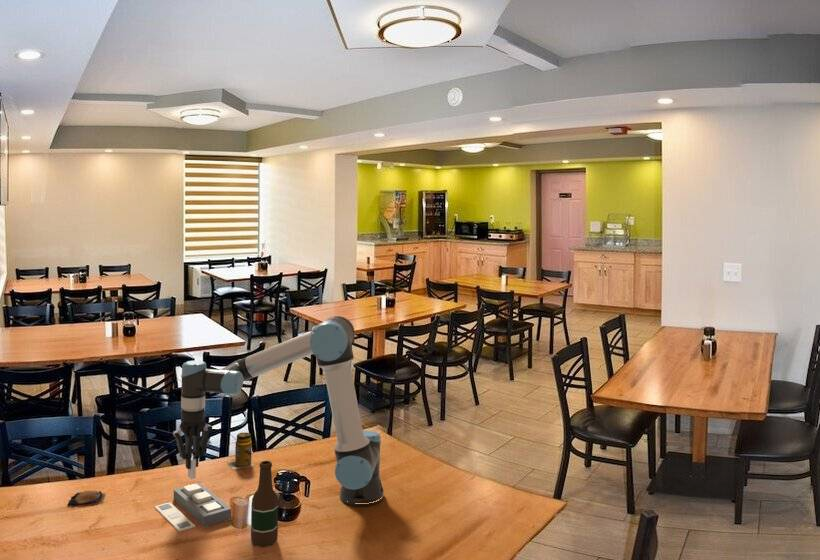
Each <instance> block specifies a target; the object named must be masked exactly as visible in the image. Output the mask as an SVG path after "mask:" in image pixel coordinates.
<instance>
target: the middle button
mask: <svg viewBox="0 0 820 560" xmlns="http://www.w3.org/2000/svg"><path fill="white" fill-rule="evenodd" d="M192 501H193V502H194V503H196V504H201V503H204V502H208V501H211V495H210V494H209V493H207V492H206V491H204V492H200V493H196V494H193V499H192Z"/></svg>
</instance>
